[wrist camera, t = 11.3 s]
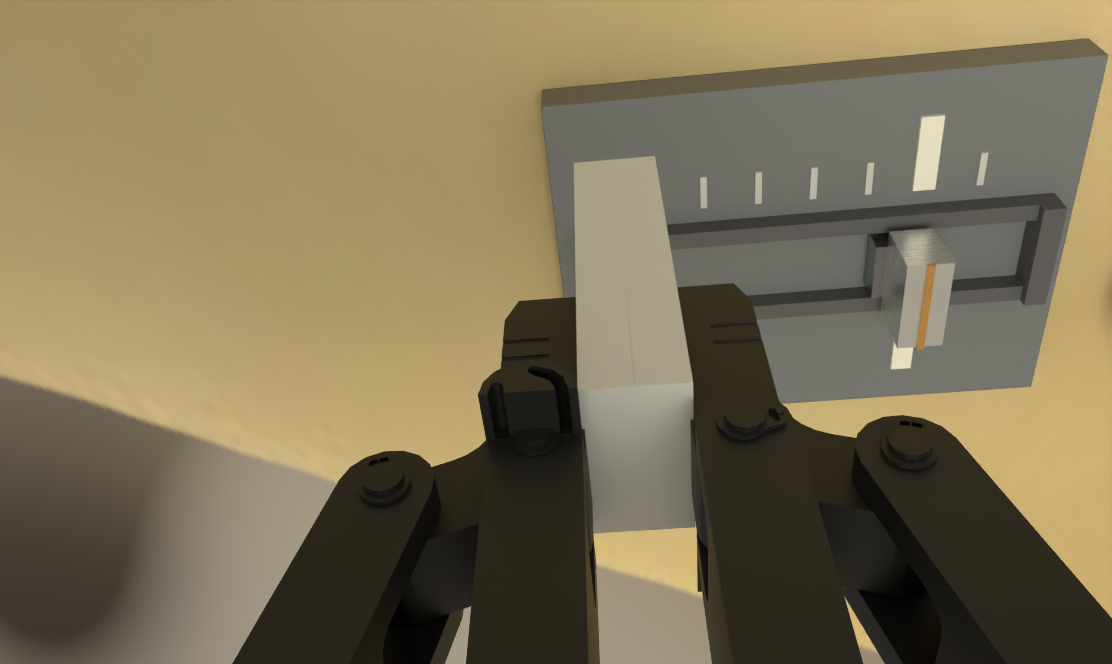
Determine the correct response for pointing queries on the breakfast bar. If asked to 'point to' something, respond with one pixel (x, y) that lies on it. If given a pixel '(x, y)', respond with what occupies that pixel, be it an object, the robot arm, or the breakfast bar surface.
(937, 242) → the fader
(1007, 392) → the breakfast bar surface
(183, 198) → the breakfast bar surface
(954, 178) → the console
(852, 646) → the robot arm
